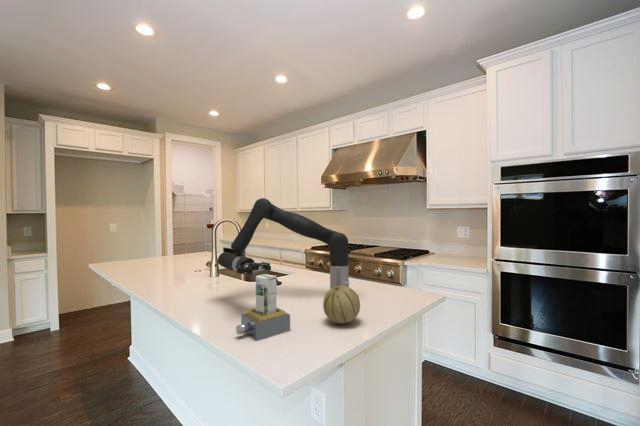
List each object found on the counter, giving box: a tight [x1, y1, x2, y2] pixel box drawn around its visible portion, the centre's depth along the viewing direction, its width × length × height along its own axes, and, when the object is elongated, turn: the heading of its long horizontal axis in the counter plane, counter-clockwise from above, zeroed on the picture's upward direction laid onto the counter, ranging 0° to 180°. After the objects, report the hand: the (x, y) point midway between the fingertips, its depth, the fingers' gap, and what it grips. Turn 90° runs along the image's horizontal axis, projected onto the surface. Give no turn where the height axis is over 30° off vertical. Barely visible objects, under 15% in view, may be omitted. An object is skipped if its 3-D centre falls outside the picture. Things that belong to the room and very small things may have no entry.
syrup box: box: [255, 273, 277, 316], centre depth 115 cm, size 6×6×14 cm
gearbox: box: [235, 306, 291, 342], centre depth 113 cm, size 18×12×8 cm, turn 129°
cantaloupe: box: [322, 286, 361, 325], centre depth 122 cm, size 15×15×15 cm
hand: (261, 269), depth 126 cm, fingers open, 8 cm apart
